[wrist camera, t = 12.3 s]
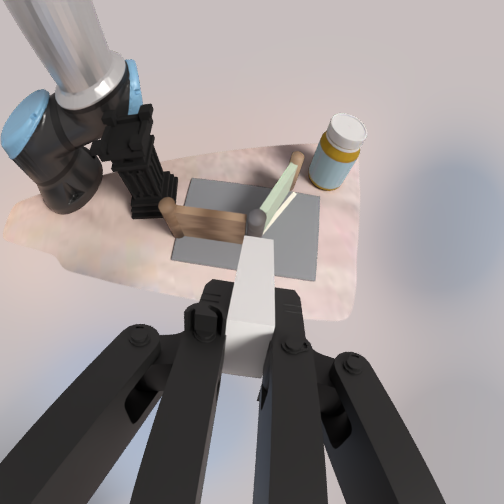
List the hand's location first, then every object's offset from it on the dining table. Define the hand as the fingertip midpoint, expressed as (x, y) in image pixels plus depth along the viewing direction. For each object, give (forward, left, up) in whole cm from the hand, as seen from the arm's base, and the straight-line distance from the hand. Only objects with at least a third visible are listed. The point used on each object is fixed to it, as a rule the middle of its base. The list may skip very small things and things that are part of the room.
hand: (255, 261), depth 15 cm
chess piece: (-19, +18, -30) cm, 40 cm away
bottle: (+12, +28, -30) cm, 43 cm away
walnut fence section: (-6, +12, -30) cm, 33 cm away
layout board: (-1, +15, -30) cm, 34 cm away
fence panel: (+3, +19, -29) cm, 35 cm away
